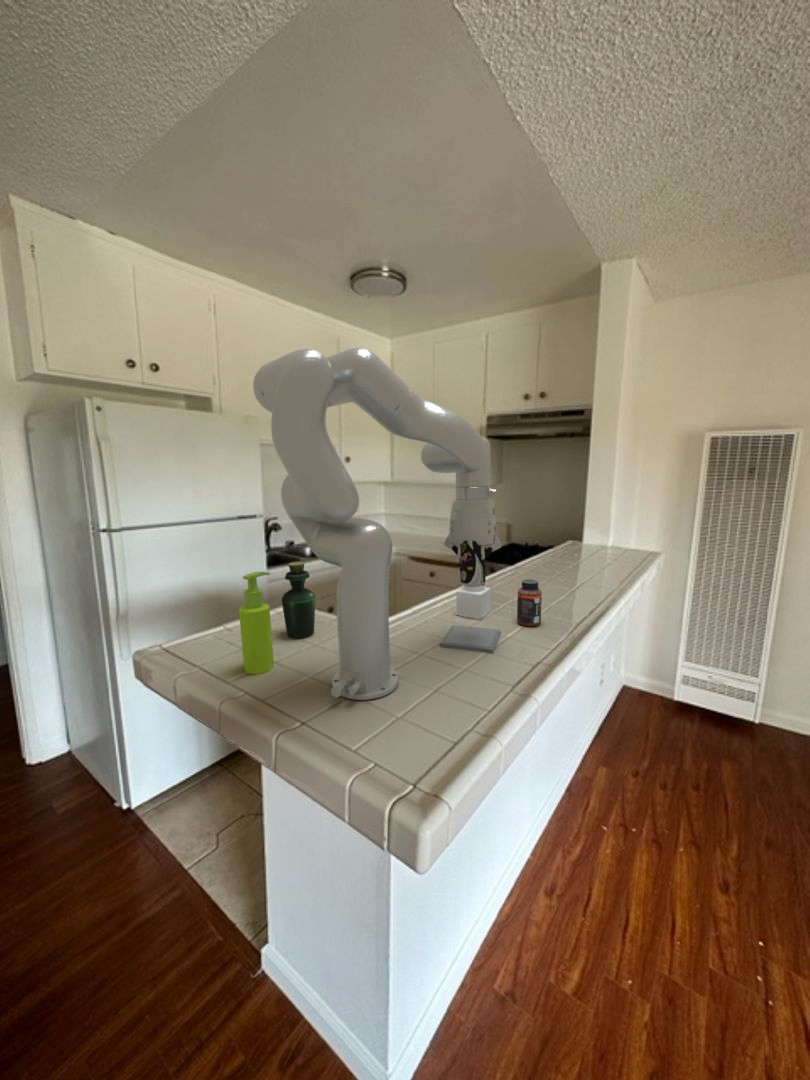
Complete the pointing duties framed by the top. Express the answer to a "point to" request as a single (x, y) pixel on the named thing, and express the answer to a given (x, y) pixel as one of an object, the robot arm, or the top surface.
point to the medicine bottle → (473, 601)
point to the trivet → (471, 638)
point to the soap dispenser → (256, 629)
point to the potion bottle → (298, 604)
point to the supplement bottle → (529, 603)
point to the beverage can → (471, 564)
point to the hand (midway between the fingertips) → (472, 573)
